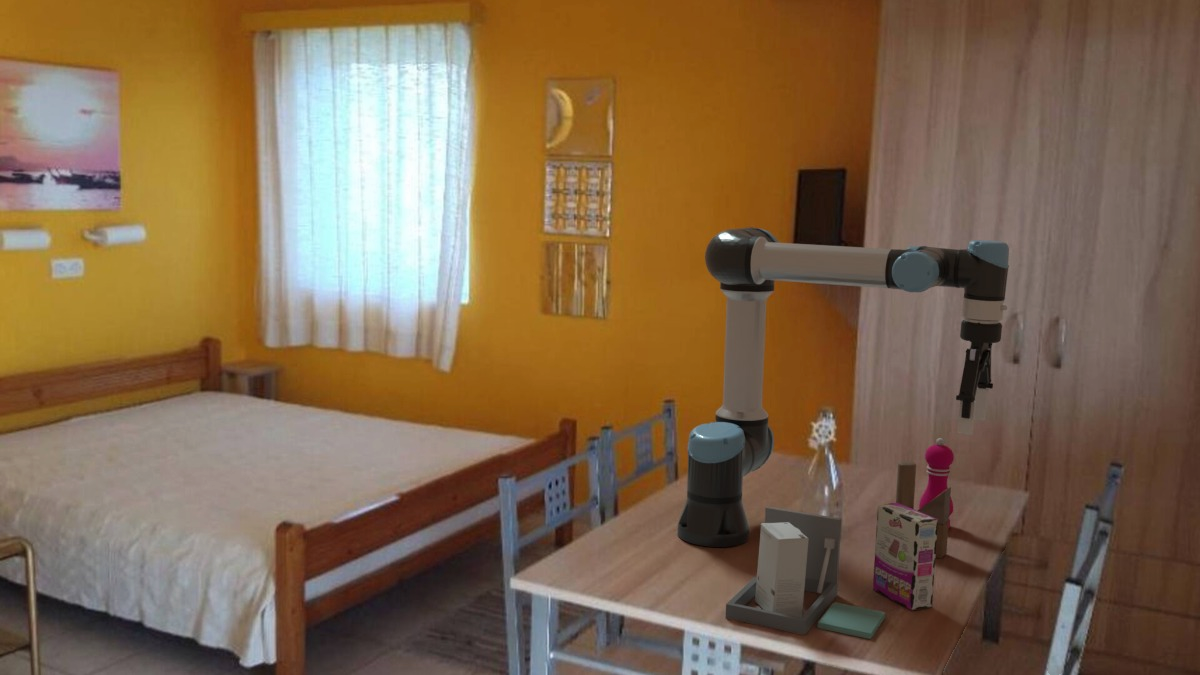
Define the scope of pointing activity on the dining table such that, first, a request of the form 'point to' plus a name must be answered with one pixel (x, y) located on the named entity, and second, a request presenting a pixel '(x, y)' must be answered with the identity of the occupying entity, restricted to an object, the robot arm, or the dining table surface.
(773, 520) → the case
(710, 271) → the robot arm
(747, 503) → the dining table surface
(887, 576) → the candy bar box
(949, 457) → the pepper mill
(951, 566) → the dining table surface
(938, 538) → the wooden peg stand
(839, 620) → the pad
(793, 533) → the skincare box
